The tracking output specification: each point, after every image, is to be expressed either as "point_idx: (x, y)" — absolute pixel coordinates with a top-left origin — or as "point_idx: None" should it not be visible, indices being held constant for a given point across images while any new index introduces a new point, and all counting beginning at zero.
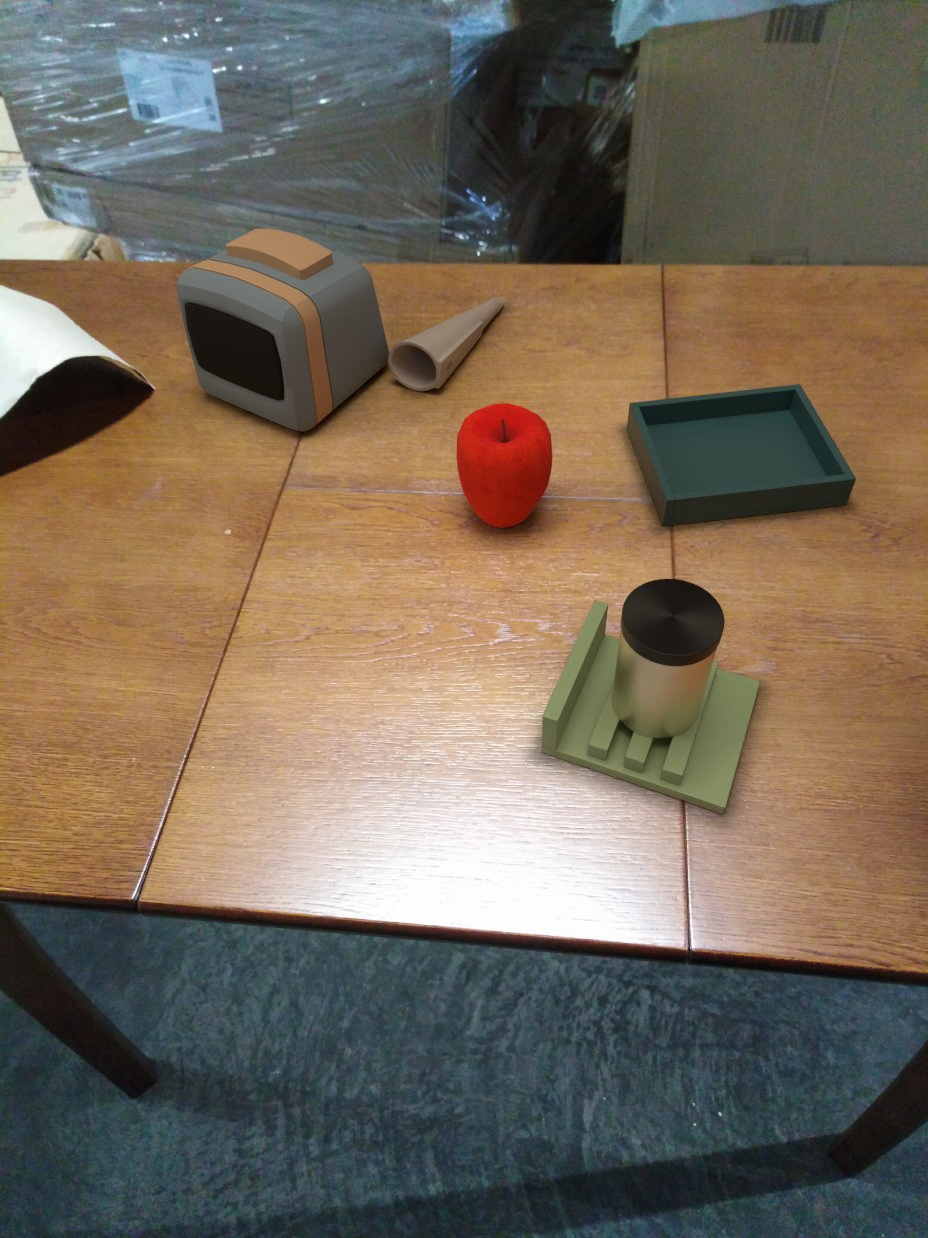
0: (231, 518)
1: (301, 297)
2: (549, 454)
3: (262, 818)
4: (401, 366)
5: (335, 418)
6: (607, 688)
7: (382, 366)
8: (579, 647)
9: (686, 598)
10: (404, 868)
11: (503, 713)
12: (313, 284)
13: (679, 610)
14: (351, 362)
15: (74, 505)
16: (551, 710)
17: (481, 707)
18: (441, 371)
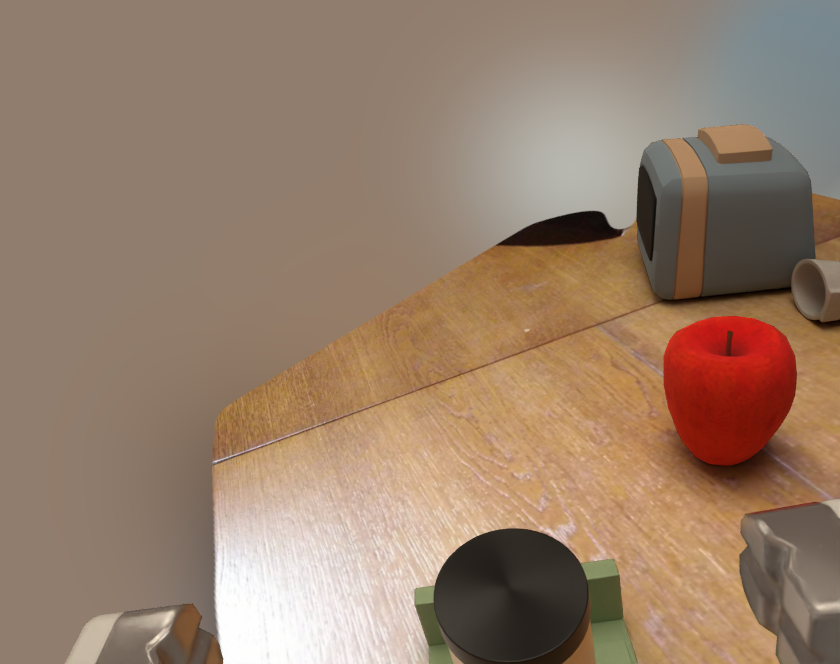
0: (540, 324)
1: (698, 174)
2: (753, 395)
3: (287, 485)
4: (806, 288)
5: (702, 303)
6: None
7: None
8: None
9: (551, 590)
10: (266, 592)
11: None
12: (724, 169)
13: (523, 591)
14: (741, 258)
15: (491, 273)
16: (425, 592)
17: None
18: (829, 303)
